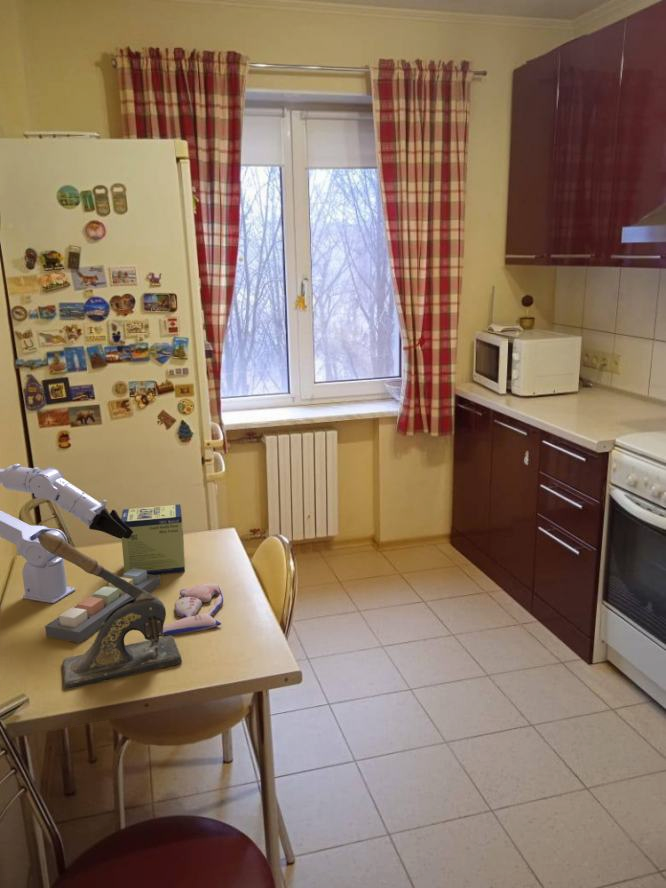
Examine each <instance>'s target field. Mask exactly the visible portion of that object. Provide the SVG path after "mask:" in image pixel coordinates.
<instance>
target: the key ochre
mask: <svg viewBox="0 0 666 888" xmlns="http://www.w3.org/2000/svg"><path fill="white" fill-rule="evenodd" d="M119 577H120V578H122V579H124V580H126V581H127V582H129V583H131V584H133V579H130V578H123V577H122V576H119ZM108 585H109V587H111V588H117V587H115V586H114V585H112V584H111V583H109V582H108ZM118 589H119V588H118ZM119 594H123V595H124V594H125V592H123V591H122V590H121V589H119Z"/></svg>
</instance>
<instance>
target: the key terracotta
mask: <svg viewBox="0 0 666 888" xmlns="http://www.w3.org/2000/svg"><path fill="white" fill-rule="evenodd" d="M76 606H77V608H79V609H85V610H87V615H90V616H93V615H95V614H96V613H98V612H99V611H101V610H102V609H104V603H103V599H101V598H95V597H91V596H87V597H85V598H84V599H82V600H81V601H79V602H77V604H76Z"/></svg>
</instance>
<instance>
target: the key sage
mask: <svg viewBox="0 0 666 888" xmlns="http://www.w3.org/2000/svg"><path fill="white" fill-rule="evenodd" d="M92 595H93V597H95V598H101V599H103V603H104V604H106V605H109V604H111V603H112V602H114V601H115V600H117V599H118V598H119V589H118V588H111V587H106V586H103V587H101V588H100V589H98V590H96V591H95V592H94V593H92Z"/></svg>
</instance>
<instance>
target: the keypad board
mask: <svg viewBox="0 0 666 888" xmlns="http://www.w3.org/2000/svg"><path fill="white" fill-rule="evenodd" d="M121 577H123V575H122V576H121ZM133 585H135V586H136V587H138V588H140V589H143V590H145V591H147V592H149V593H150V594H151V593H152V592H154V591H155V590H156V589H157V588H158V587H160V586H161V576H160V575H151V574H147V579H146V580H144V581H143V582H141V583H140V584H139V585H136V584H133ZM105 587H109V584H108V585H106V586H105ZM90 597H93V594H92V595H91V596H90ZM131 599H133V597H132V596H130V595H128V594H127V593H125V594H124V595H123V594H119V598H118V599H117V600H115V601H114V602H112V603H111V604H109V605H106V604H104V609H102V610H101V611H99V612H98V613H96V614H95V615H93V616H90V615H87V618H88V620H86V621H85V622H83V623H82V624H80V625H79V626H77V627H76V628H74V627H69V626H63V625H60V618H59V616H58V617H57V618H56V619H53V620H52V621H51V622H49V623H47V624H45V626H44V628H45V636H46V637H47V638H53V639H58V640H63V641H68V642H71V643H72V642H74V643H77V644H81V643H82V642H84V641H85V640H87V639H88V638H89V637H90V636H92V635H94V634H95V633H97V632H99V630H100V628H101V625H102V623H104V621H105V619H106V618H107V617H108V615H109V614H110V613H111V612H112V611H113V610H114V609H116V608H117V607H118V606H120V605H122V604H123V603H125V602H127V601H129V600H131ZM73 608H77V605H75V606H73Z"/></svg>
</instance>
